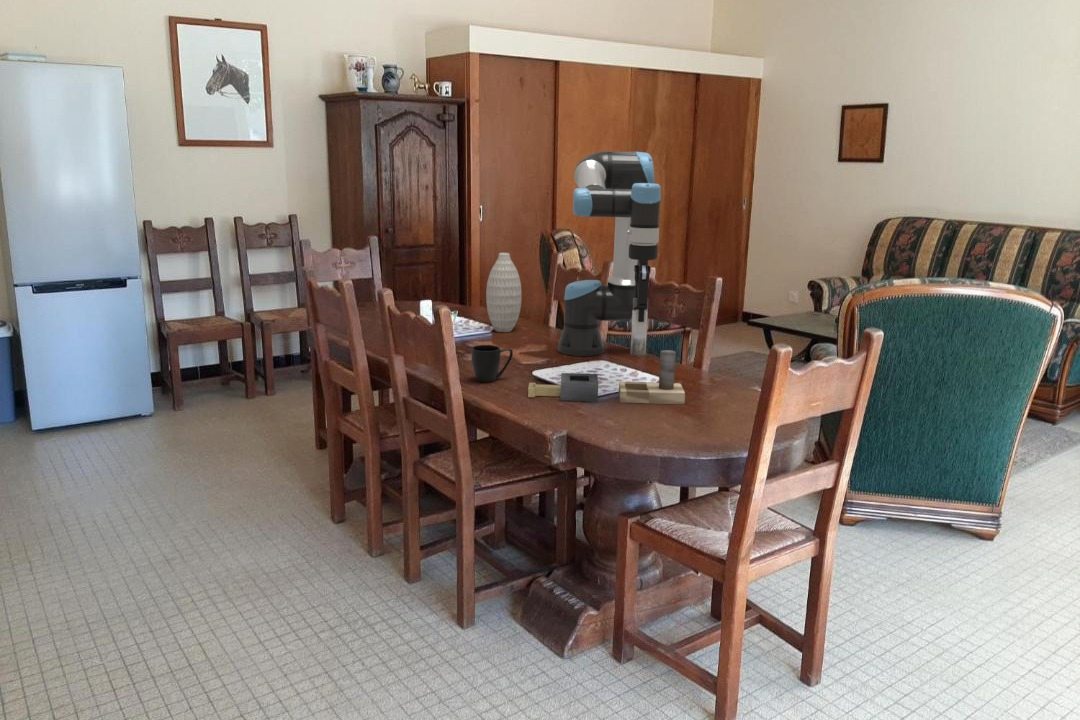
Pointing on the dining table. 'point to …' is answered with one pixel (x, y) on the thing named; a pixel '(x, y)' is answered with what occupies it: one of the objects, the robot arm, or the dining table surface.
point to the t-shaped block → (543, 390)
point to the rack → (655, 386)
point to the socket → (579, 387)
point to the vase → (503, 294)
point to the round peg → (638, 335)
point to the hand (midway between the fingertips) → (639, 331)
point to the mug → (488, 362)
